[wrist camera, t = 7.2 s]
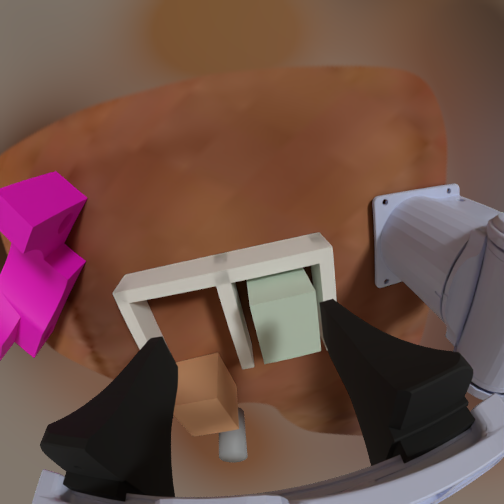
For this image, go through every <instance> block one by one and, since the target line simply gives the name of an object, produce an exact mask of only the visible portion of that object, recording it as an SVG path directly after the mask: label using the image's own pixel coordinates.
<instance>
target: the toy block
mask: <svg viewBox="0 0 504 504" xmlns="http://www.w3.org/2000/svg"><path fill="white" fill-rule="evenodd" d="M87 199H88V198H87V197H86V196H84V195H83V194H82V193H81V192H80V191H78V190H77V189H76V188H75V187H74V186H73V185H71V184H70V183H69V182H68V181H67V180H66V179H64V178H63V177H62V176H61V175H60V174H59V173H57V172H56V171H55V172H52V173H48V174H44V175H41V176H38V177H34V178H31V179H28V180H24V181H21V182H18V183H15V184H12V185H9V186H6V187H3V188H0V231H1V232H2V233H3V234H4V235H5V236H6V237H7V238H8V239H9V240H10V241H11V242H12V243H11V248H10V251H9V255H8V257H7V261H6V263H5V265H4V267H3V270H2V272H1V274H0V360H1V359H2V358H3V357H4V355H5V354H6V353H7V351H8V350H9V349H10V347H11V346H12V345H13V343H14V342H15V343H17V344H18V345H19V346H20V347H21V348H23V349H24V350H25V351H26V352H27V353H28V354H30V355H31V356H32V357H33V358H35V356H36V355H37V353H38V352H39V350H40V349H41V348H42V346H43V345H44V343H45V342H46V340H47V339H48V338H49V336H50V335H51V333H52V332H53V330H54V327H55V325H56V323H57V320H58V318H59V316H60V313H61V311H62V309H63V307H64V304H65V302H66V300H67V298H68V296H69V294H70V292H71V290H72V288H73V286H74V284H75V282H76V280H77V278H78V276H79V274H80V272H81V270H82V268H83V266H84V264H85V262H86V261H85V260H84V259H82V258H81V257H80V256H79V255H78V254H76V253H75V252H74V251H73V250H72V249H70V248H69V247H68V246H67V245H66V244H64V243H65V241H66V239H67V237H68V235H69V233H70V231H71V229H72V227H73V225H74V223H75V221H76V219H77V217H78V215H79V213H80V211H81V209H82V208H83V206H84V204H85V202H86V200H87Z"/></svg>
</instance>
